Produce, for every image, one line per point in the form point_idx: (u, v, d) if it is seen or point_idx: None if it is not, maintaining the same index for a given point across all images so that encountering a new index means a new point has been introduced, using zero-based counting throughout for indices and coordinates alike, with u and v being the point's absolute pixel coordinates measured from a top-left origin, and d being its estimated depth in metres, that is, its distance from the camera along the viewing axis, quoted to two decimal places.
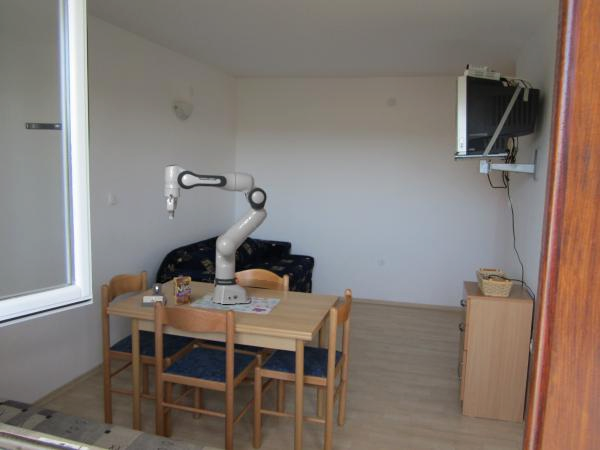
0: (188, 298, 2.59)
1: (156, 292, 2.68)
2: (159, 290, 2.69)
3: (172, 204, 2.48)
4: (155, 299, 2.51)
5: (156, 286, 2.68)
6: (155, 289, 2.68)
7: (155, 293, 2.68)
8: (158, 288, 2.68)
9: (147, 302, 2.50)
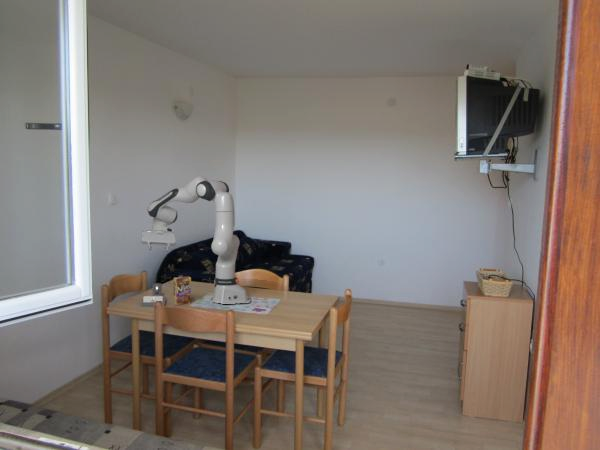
0: (188, 298, 2.59)
1: (156, 292, 2.68)
2: (159, 290, 2.69)
3: (142, 236, 2.79)
4: (155, 299, 2.51)
5: (156, 286, 2.68)
6: (155, 289, 2.68)
7: (155, 293, 2.68)
8: (158, 288, 2.68)
9: (147, 302, 2.50)
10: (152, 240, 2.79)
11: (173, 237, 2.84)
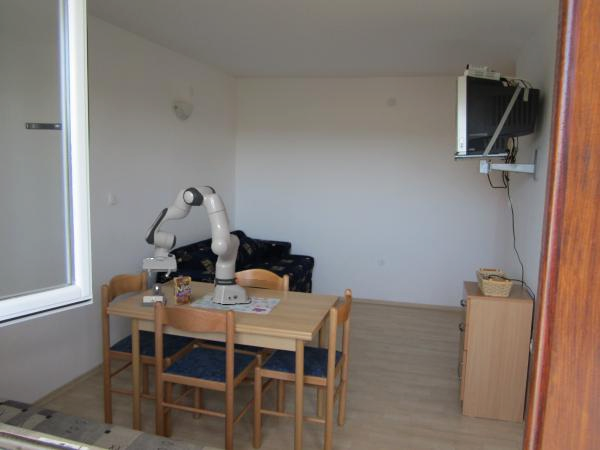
0: (188, 298, 2.59)
1: (156, 292, 2.68)
2: (159, 290, 2.69)
3: (143, 264, 2.79)
4: (155, 299, 2.51)
5: (156, 286, 2.68)
6: (155, 289, 2.68)
7: (155, 293, 2.68)
8: (158, 288, 2.68)
9: (147, 302, 2.50)
10: (153, 267, 2.78)
11: (174, 262, 2.82)
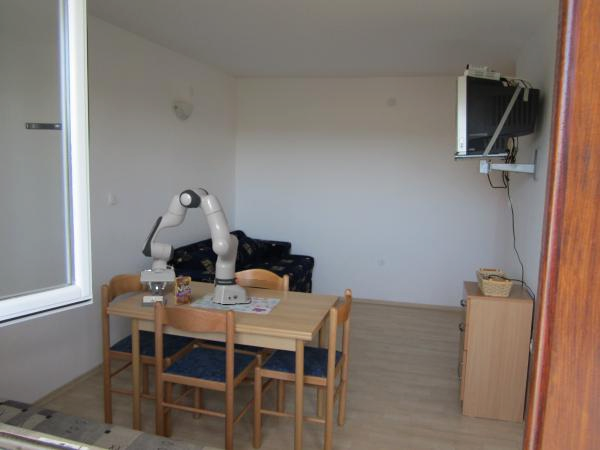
0: (188, 298, 2.59)
1: (156, 292, 2.68)
2: (159, 290, 2.69)
3: (141, 276, 2.72)
4: (155, 299, 2.51)
5: (156, 286, 2.68)
6: (155, 289, 2.68)
7: (155, 293, 2.68)
8: (158, 288, 2.68)
9: (147, 302, 2.50)
10: (151, 279, 2.71)
11: (172, 275, 2.75)
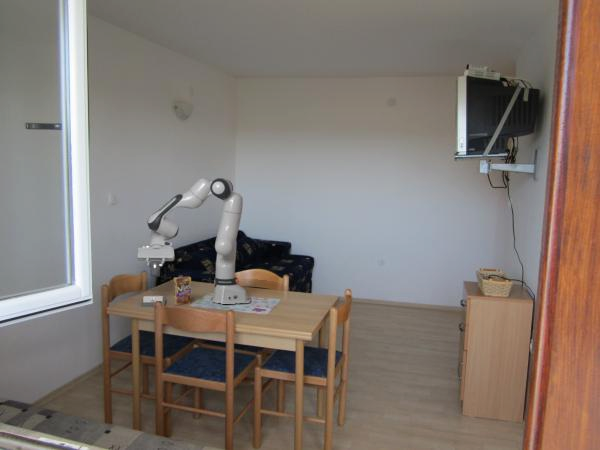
0: (188, 298, 2.59)
1: (154, 270, 2.54)
2: (157, 268, 2.55)
3: (138, 252, 2.58)
4: (155, 299, 2.51)
5: (154, 264, 2.54)
6: (153, 267, 2.54)
7: (153, 271, 2.54)
8: (156, 266, 2.54)
9: (147, 302, 2.50)
10: (148, 256, 2.57)
11: (171, 251, 2.62)
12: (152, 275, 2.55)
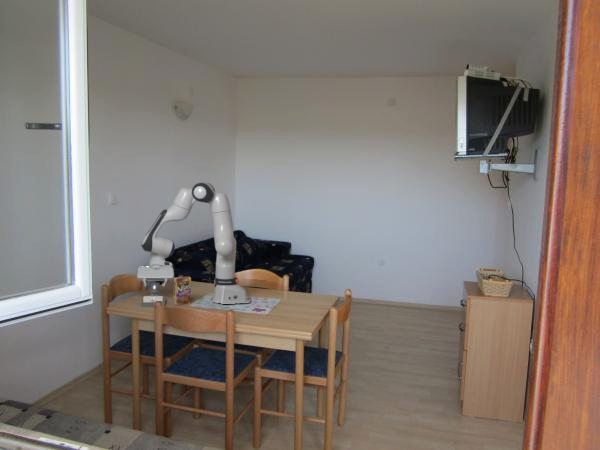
0: (188, 298, 2.59)
1: (154, 292, 2.55)
2: (157, 289, 2.56)
3: None
4: (155, 299, 2.51)
5: (154, 285, 2.55)
6: (152, 288, 2.55)
7: (152, 293, 2.56)
8: (155, 288, 2.55)
9: (147, 302, 2.50)
10: (148, 276, 2.58)
11: (171, 271, 2.62)
12: None
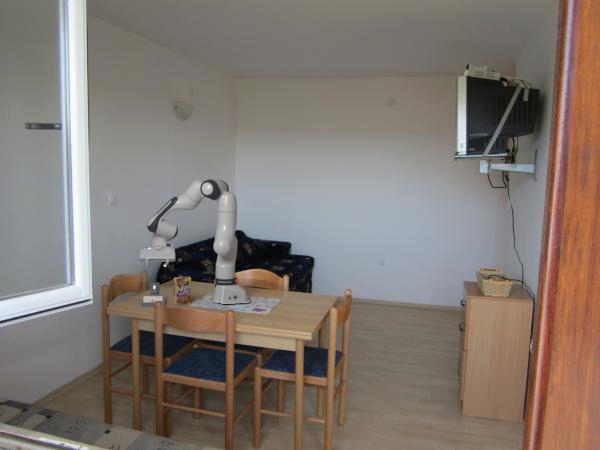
0: (188, 298, 2.59)
1: (154, 292, 2.55)
2: (157, 289, 2.56)
3: (140, 253, 2.68)
4: (155, 299, 2.51)
5: (154, 285, 2.55)
6: (153, 288, 2.55)
7: (153, 293, 2.56)
8: (155, 288, 2.55)
9: (147, 302, 2.50)
10: (150, 257, 2.67)
11: (172, 252, 2.71)
12: None
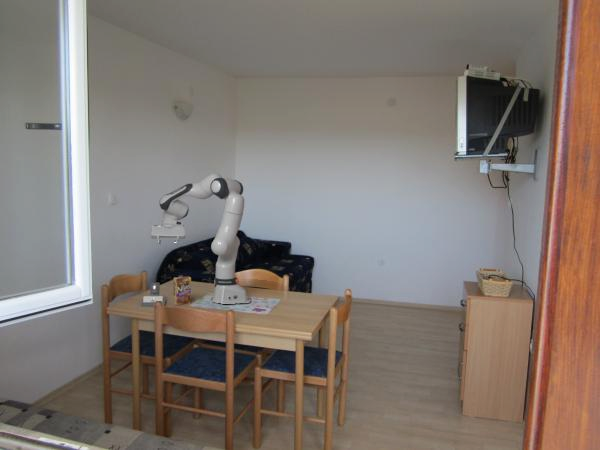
0: (188, 298, 2.59)
1: (154, 292, 2.55)
2: (157, 289, 2.56)
3: (151, 231, 2.77)
4: (155, 299, 2.51)
5: (154, 285, 2.55)
6: (152, 288, 2.55)
7: (152, 293, 2.56)
8: (155, 288, 2.55)
9: (147, 302, 2.50)
10: (161, 234, 2.76)
11: (182, 230, 2.80)
12: None
